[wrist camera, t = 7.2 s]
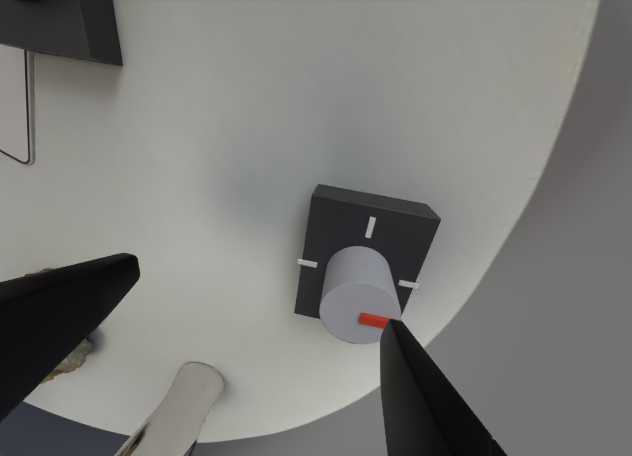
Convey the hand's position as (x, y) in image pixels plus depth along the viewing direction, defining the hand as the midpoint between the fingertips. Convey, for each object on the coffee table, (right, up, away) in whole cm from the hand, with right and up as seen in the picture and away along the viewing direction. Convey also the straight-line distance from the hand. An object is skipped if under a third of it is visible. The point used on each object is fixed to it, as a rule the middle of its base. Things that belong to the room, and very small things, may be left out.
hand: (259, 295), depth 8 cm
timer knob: (+5, -1, +8) cm, 10 cm away
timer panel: (+5, 0, +11) cm, 12 cm away
